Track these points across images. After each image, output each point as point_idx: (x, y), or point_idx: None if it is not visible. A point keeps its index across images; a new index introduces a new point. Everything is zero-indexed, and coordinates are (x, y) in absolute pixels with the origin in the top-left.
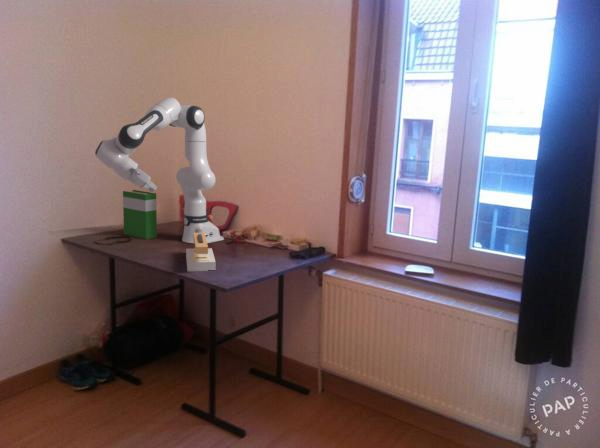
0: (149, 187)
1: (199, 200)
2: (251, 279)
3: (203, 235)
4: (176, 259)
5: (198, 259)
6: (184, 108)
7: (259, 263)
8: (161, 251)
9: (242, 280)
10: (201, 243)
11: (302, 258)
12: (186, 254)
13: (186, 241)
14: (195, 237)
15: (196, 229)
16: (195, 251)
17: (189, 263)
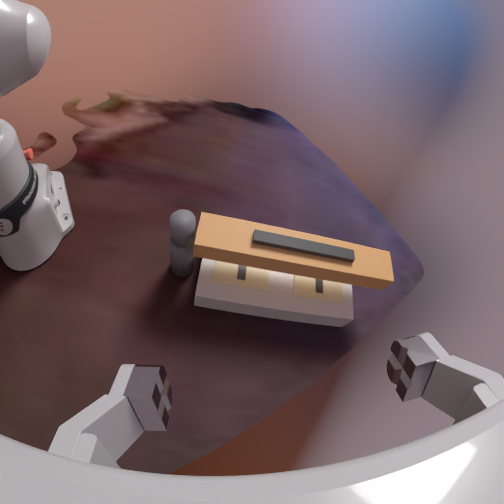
0: (127, 420)
1: (6, 133)
2: (387, 221)
3: (248, 225)
4: (218, 338)
5: (334, 287)
6: None
7: (289, 172)
8: (107, 363)
9: (394, 236)
10: (356, 258)
11: (264, 112)
12: (242, 306)
13: (38, 262)
14: (276, 256)
15: (178, 226)
16: (246, 277)
17: (351, 315)
